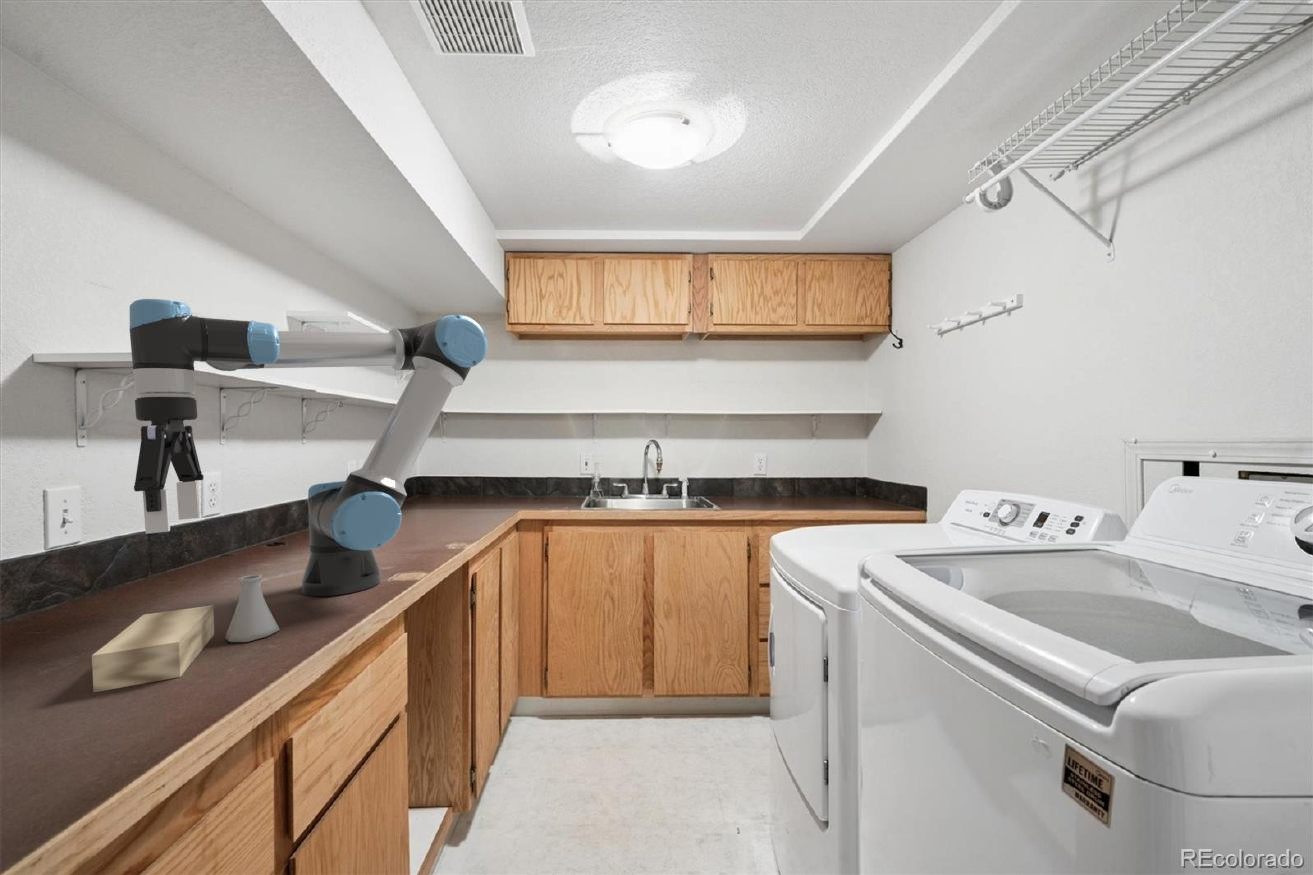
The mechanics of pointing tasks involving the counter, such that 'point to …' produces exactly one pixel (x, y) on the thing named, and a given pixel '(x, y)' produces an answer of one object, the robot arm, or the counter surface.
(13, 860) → the counter surface
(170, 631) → the block
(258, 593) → the flask
